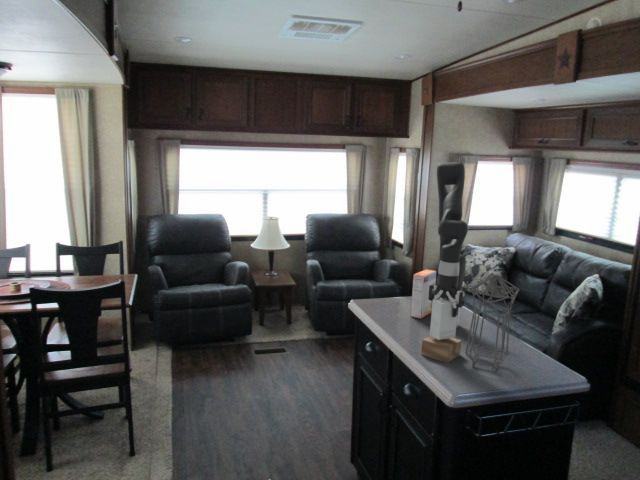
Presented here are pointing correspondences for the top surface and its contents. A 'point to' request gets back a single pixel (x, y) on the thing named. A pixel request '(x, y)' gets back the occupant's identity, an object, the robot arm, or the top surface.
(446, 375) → the top surface
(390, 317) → the top surface
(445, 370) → the top surface
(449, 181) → the robot arm
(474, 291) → the geometric lantern
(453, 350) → the light brown block
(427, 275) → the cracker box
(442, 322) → the skincare box
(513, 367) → the top surface
